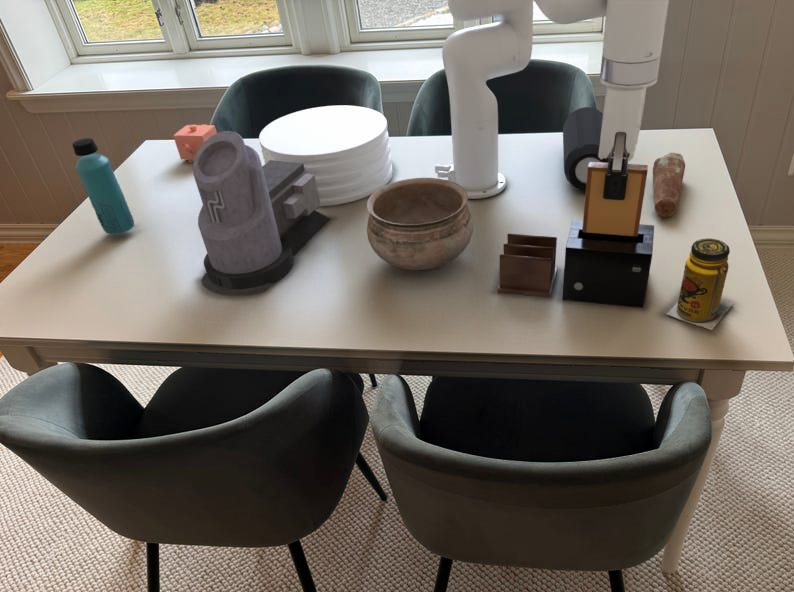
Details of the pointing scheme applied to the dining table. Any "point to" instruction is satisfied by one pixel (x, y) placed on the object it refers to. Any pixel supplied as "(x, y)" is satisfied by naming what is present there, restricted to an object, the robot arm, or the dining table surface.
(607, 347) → the dining table surface
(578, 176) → the portable speaker
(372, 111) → the plate stack
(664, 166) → the reddish-brown tapered rod
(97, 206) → the beverage bottle
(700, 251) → the condiment
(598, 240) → the toaster
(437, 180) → the cooking pot
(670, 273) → the dining table surface
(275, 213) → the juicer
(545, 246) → the rack
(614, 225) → the toast
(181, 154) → the pink cube teapot
